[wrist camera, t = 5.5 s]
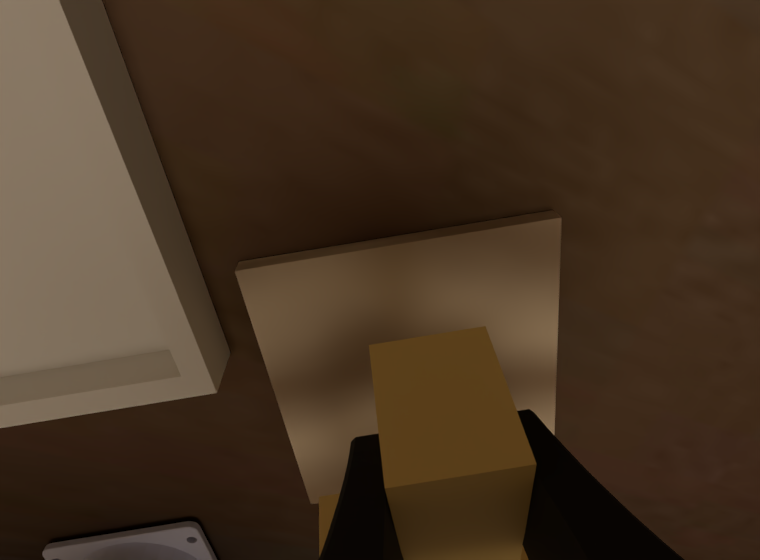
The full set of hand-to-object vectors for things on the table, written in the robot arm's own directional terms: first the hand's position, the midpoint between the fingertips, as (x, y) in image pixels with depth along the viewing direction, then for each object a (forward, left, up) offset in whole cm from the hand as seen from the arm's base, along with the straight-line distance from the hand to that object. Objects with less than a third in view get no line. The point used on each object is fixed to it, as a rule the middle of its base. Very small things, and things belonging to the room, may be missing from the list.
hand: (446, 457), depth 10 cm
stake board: (-5, 0, -10) cm, 11 cm away
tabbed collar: (-4, 0, -2) cm, 5 cm away
